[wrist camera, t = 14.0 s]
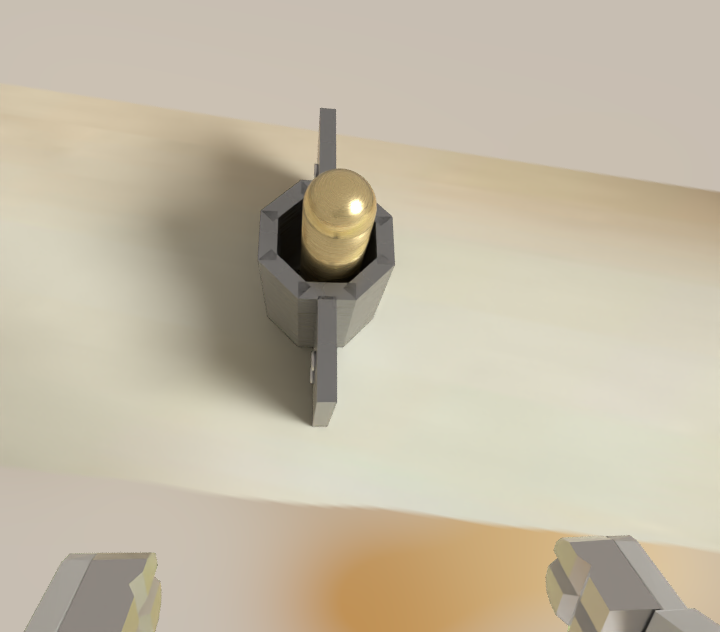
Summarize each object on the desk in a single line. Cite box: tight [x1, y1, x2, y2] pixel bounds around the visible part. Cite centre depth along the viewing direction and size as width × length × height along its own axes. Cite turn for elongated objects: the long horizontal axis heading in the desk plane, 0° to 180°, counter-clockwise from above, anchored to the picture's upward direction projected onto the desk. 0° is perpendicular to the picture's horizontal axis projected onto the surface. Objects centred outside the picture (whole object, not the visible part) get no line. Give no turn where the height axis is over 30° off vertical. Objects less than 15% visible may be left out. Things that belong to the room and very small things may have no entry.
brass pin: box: [300, 169, 377, 283], centre depth 23 cm, size 3×3×11 cm
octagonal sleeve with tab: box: [258, 108, 395, 427], centre depth 25 cm, size 6×15×7 cm, turn 1°
